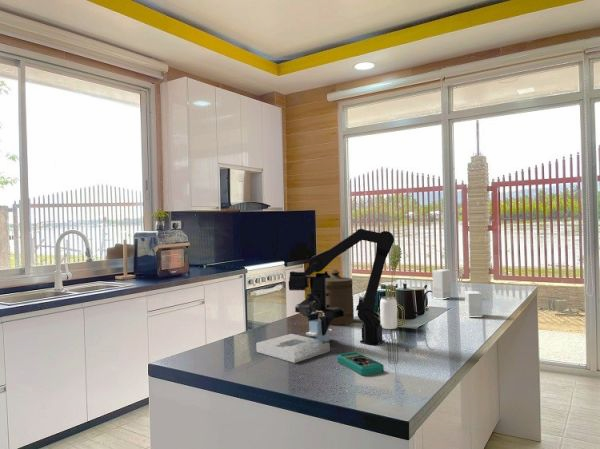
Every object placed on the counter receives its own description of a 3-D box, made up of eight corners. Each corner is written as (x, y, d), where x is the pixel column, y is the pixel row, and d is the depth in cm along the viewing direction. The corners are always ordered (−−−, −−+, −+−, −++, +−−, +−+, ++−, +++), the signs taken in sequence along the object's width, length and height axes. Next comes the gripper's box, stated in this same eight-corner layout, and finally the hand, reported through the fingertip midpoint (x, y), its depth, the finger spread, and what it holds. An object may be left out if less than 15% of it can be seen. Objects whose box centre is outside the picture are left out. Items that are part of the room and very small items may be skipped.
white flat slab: (329, 351, 146) (329, 342, 146) (294, 362, 135) (294, 353, 135) (291, 342, 159) (291, 333, 159) (256, 351, 148) (256, 342, 148)
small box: (482, 318, 190) (482, 293, 190) (469, 318, 191) (468, 293, 191) (478, 314, 198) (477, 290, 198) (465, 314, 199) (464, 290, 199)
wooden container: (343, 316, 201) (342, 267, 201) (360, 323, 187) (358, 270, 187) (313, 319, 196) (312, 269, 196) (327, 326, 182) (326, 272, 182)
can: (390, 330, 173) (389, 299, 173) (377, 327, 178) (376, 297, 178) (400, 327, 177) (400, 297, 177) (387, 325, 182) (387, 295, 182)
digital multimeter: (363, 378, 122) (362, 367, 122) (336, 363, 135) (336, 353, 135) (385, 374, 125) (385, 363, 125) (357, 359, 138) (357, 350, 138)
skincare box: (441, 297, 246) (440, 268, 246) (452, 298, 241) (451, 269, 241) (432, 299, 241) (431, 270, 241) (443, 300, 235) (442, 270, 235)
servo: (332, 339, 161) (332, 318, 161) (313, 345, 154) (313, 323, 154) (324, 338, 164) (323, 317, 164) (305, 343, 157) (305, 322, 157)
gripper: (283, 290, 160) (284, 334, 160) (322, 295, 147) (323, 343, 147) (305, 287, 168) (306, 328, 168) (344, 291, 154) (345, 336, 154)
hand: (319, 334), depth 159 cm, fingers closed on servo, 4 cm apart
